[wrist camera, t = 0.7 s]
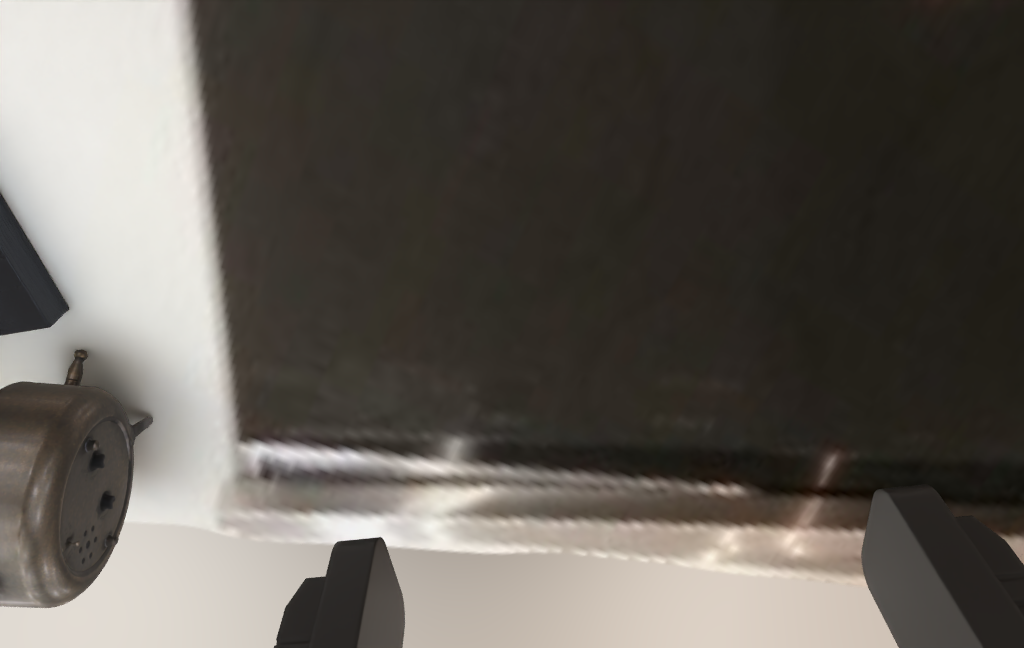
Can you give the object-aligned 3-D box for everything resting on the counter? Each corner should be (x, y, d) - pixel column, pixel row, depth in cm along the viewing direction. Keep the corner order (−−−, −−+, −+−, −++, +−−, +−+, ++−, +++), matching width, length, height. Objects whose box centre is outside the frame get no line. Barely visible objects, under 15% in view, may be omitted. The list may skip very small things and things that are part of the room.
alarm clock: (48, 328, 39) (-206, 577, 25) (150, 340, 39) (-43, 591, 25) (82, 475, 44) (-109, 743, 31) (171, 483, 45) (23, 751, 31)
